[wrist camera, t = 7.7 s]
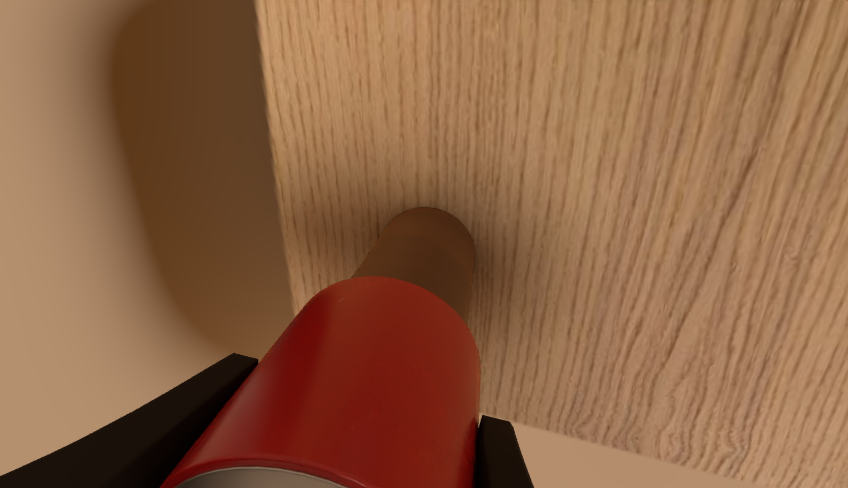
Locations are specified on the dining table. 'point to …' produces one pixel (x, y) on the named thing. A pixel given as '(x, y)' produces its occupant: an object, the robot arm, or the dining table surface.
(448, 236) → the stand
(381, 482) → the can
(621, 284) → the dining table surface
